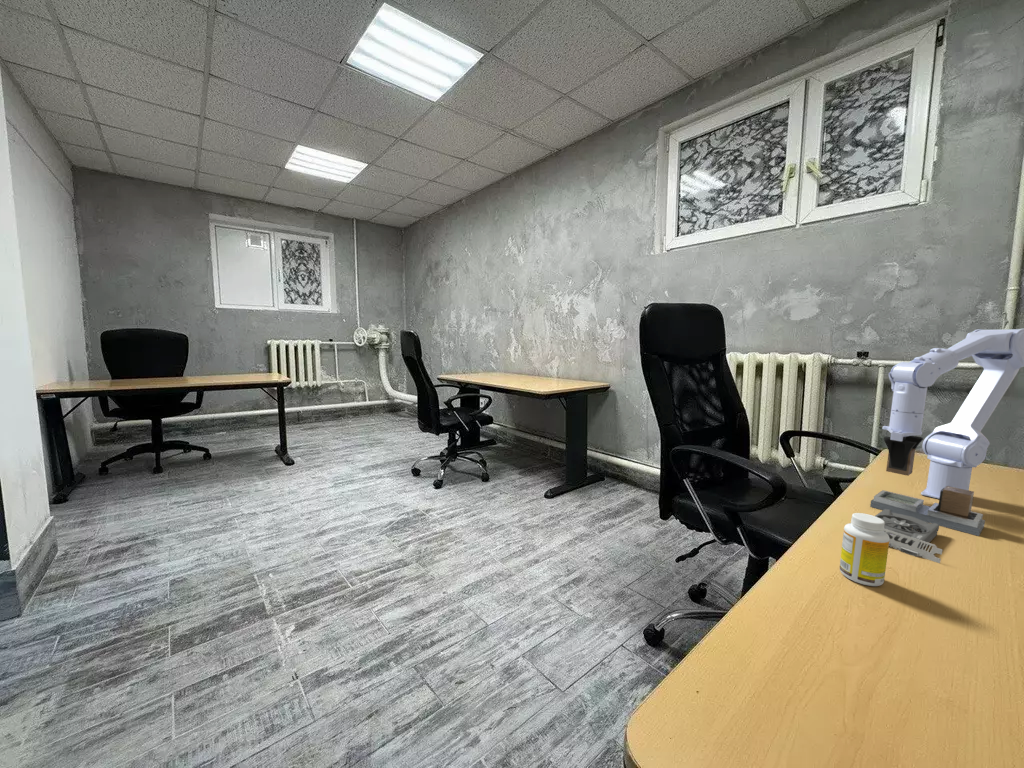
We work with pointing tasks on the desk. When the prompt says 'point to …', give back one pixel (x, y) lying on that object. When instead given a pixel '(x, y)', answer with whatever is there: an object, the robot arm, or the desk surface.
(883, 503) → the grey block holder
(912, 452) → the walnut block
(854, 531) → the supplement bottle
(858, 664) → the desk surface
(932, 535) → the graphics card
